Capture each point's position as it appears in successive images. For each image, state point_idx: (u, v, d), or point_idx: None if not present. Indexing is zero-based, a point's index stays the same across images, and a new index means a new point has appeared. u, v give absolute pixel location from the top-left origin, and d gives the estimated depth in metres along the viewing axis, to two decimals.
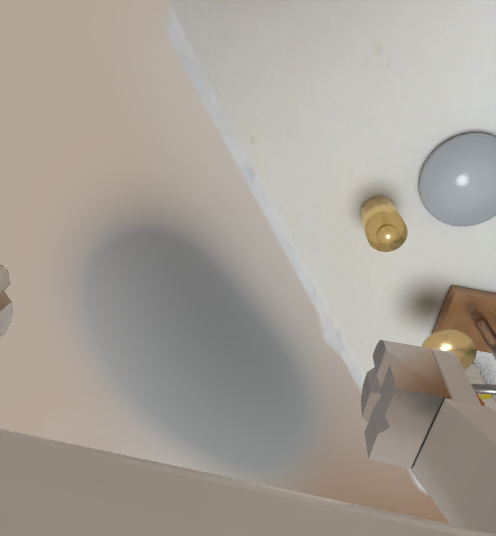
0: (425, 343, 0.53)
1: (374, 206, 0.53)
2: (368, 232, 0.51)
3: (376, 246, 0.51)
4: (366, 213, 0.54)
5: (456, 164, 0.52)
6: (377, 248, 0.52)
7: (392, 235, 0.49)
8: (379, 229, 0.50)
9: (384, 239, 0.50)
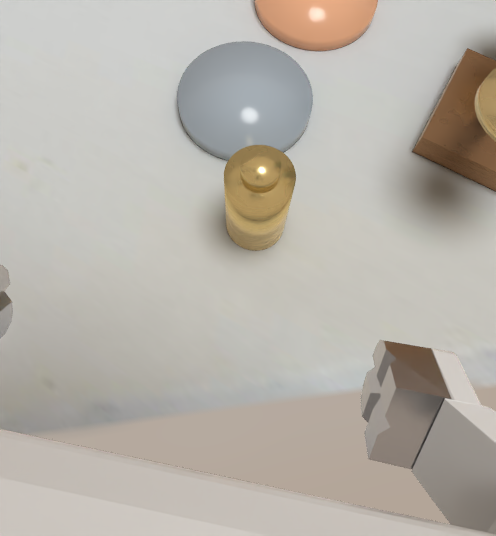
0: None
1: None
2: (246, 203, 0.27)
3: (278, 197, 0.27)
4: (233, 224, 0.31)
5: (212, 105, 0.36)
6: (283, 197, 0.27)
7: (258, 158, 0.27)
8: (243, 180, 0.27)
9: (261, 172, 0.26)
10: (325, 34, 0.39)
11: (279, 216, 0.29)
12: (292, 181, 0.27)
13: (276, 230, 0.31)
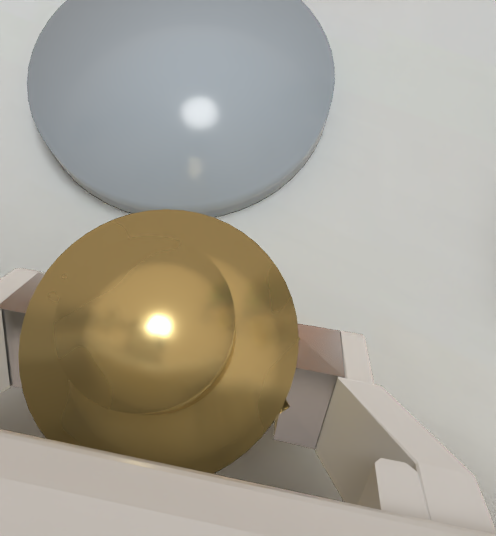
0: None
1: None
2: None
3: (231, 433, 0.07)
4: None
5: (105, 90, 0.16)
6: (250, 430, 0.07)
7: (135, 287, 0.06)
8: None
9: (145, 355, 0.06)
10: None
11: None
12: (286, 357, 0.07)
13: None
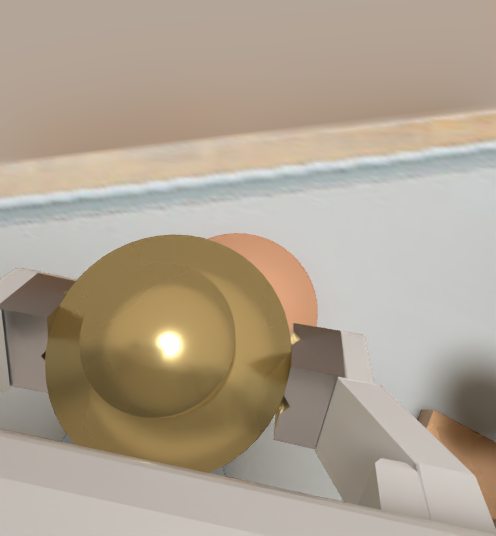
0: None
1: None
2: None
3: (232, 434, 0.08)
4: None
5: None
6: (248, 431, 0.08)
7: (149, 308, 0.07)
8: None
9: (158, 367, 0.07)
10: None
11: None
12: (280, 367, 0.08)
13: None
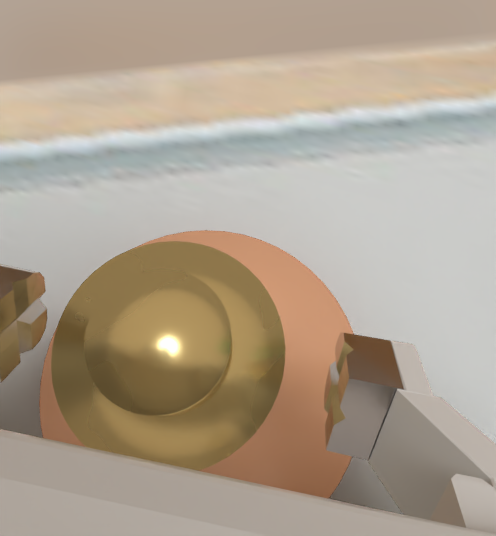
0: None
1: None
2: None
3: (228, 431, 0.08)
4: None
5: None
6: (244, 429, 0.08)
7: (150, 312, 0.07)
8: None
9: (159, 368, 0.07)
10: None
11: None
12: (274, 368, 0.08)
13: None
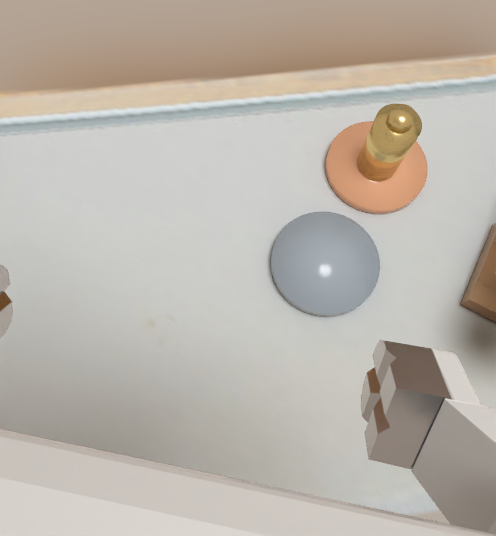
0: None
1: (364, 149, 0.46)
2: (392, 140, 0.42)
3: (412, 136, 0.42)
4: (371, 159, 0.46)
5: (299, 270, 0.45)
6: (415, 136, 0.42)
7: (400, 110, 0.42)
8: (390, 125, 0.42)
9: (404, 119, 0.41)
10: (386, 203, 0.48)
11: (407, 151, 0.44)
12: (420, 126, 0.42)
13: (399, 164, 0.46)
